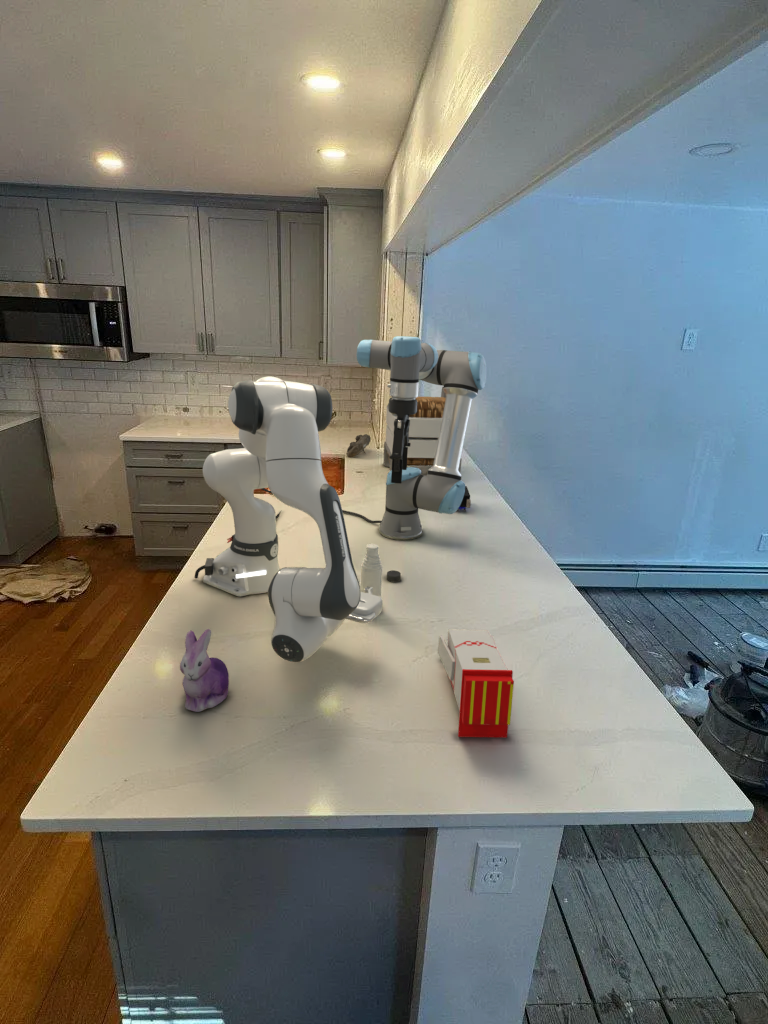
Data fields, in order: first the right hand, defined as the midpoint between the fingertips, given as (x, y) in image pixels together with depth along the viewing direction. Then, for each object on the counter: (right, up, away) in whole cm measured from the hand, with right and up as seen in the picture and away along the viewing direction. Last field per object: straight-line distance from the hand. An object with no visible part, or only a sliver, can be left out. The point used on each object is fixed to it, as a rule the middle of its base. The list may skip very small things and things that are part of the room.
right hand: (399, 475), depth 156 cm
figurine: (-39, -47, -43) cm, 75 cm away
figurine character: (+27, -8, +73) cm, 79 cm away
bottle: (-8, -36, -7) cm, 37 cm away
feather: (-43, -11, +57) cm, 72 cm away
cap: (-1, -28, +10) cm, 30 cm away
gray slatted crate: (+13, +9, +119) cm, 120 cm away
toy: (+14, -48, -37) cm, 62 cm away
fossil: (-18, +22, +151) cm, 153 cm away
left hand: (-12, -27, -21) cm, 36 cm away
